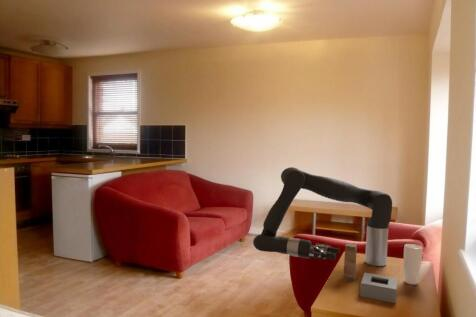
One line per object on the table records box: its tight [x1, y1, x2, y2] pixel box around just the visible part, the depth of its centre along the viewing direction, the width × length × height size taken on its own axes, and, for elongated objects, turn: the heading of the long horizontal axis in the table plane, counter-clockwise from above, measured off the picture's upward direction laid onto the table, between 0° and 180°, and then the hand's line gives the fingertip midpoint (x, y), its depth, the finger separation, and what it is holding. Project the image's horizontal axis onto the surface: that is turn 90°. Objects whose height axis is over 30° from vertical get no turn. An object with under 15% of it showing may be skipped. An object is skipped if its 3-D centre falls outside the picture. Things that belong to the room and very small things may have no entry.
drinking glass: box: [403, 243, 424, 286], centre depth 155 cm, size 7×7×15 cm
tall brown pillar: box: [343, 242, 358, 282], centre depth 157 cm, size 4×4×14 cm
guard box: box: [359, 272, 398, 304], centre depth 143 cm, size 12×12×5 cm
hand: (337, 254), depth 159 cm, fingers open, 8 cm apart
